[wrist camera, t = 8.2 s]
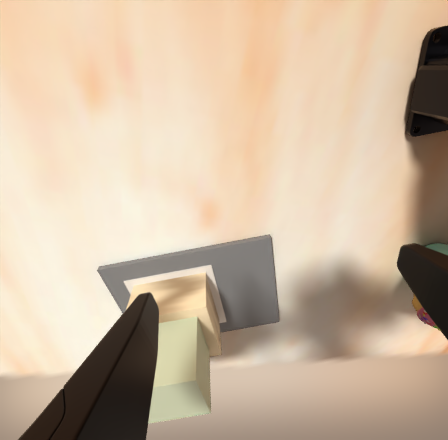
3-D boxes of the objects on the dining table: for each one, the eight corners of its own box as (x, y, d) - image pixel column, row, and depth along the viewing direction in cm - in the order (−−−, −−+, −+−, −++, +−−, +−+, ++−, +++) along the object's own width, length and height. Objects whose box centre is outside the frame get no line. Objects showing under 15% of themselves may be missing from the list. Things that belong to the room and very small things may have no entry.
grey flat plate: (269, 234, 23) (271, 238, 22) (278, 318, 29) (279, 322, 29) (99, 266, 23) (96, 271, 23) (143, 342, 30) (142, 347, 29)
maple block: (205, 272, 24) (206, 306, 20) (219, 319, 27) (221, 354, 24) (133, 285, 24) (122, 321, 21) (156, 330, 28) (150, 367, 24)
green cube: (197, 316, 21) (195, 380, 17) (209, 350, 24) (210, 413, 19) (138, 326, 21) (122, 392, 17) (157, 359, 24) (147, 423, 19)
